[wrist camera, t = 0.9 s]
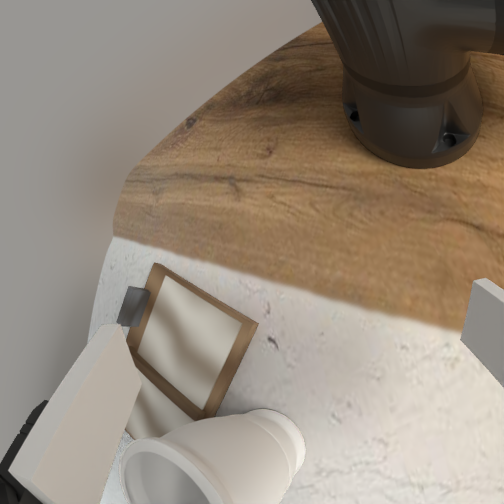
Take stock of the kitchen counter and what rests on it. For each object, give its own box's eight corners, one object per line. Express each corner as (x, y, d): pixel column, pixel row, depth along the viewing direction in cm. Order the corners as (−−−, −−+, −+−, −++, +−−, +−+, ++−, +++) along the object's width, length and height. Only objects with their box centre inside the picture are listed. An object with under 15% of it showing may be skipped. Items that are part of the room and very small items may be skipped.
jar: (217, 403, 31) (103, 433, 18) (304, 390, 27) (206, 442, 14) (238, 485, 27) (141, 543, 15) (325, 484, 23) (249, 575, 10)
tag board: (160, 264, 39) (136, 258, 35) (258, 323, 30) (236, 323, 27) (112, 406, 39) (90, 409, 36) (182, 478, 31) (159, 488, 27)
